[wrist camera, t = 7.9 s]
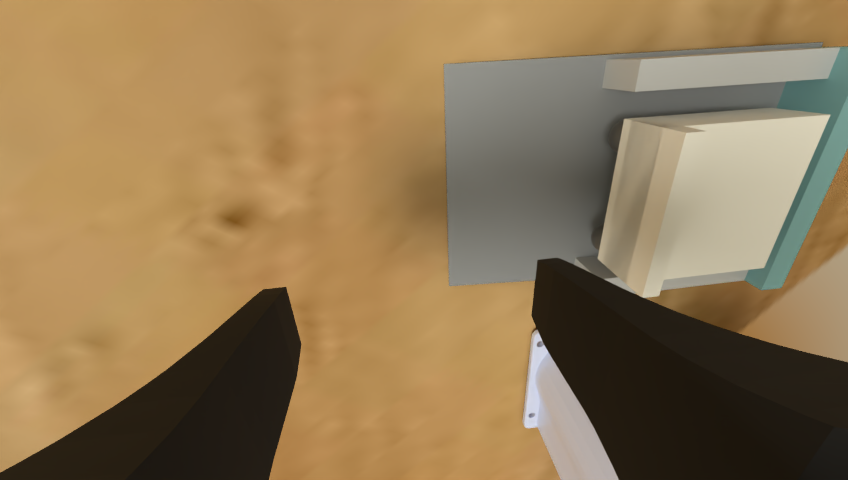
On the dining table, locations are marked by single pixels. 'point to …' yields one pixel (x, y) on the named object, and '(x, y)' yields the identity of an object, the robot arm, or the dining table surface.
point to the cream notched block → (702, 192)
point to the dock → (595, 159)
